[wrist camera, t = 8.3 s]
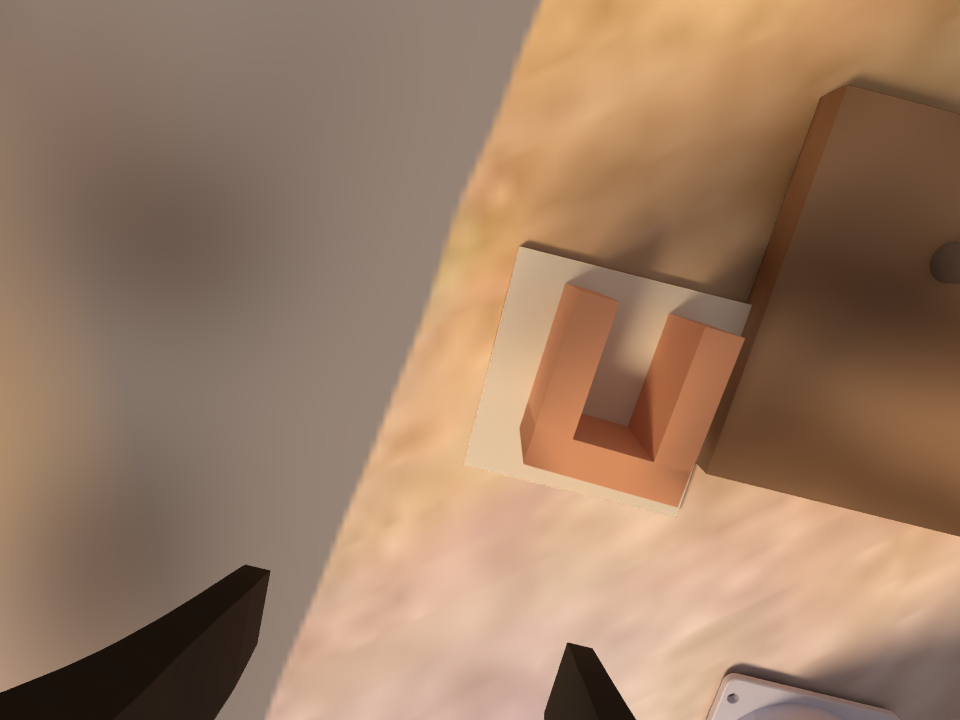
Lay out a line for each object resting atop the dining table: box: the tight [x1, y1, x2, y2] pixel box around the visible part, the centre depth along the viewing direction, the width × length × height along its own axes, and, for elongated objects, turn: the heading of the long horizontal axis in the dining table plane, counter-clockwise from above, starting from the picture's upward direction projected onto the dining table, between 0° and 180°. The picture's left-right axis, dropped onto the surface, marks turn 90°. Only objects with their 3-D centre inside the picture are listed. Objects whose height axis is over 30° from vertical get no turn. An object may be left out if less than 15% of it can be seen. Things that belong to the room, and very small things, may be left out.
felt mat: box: [463, 246, 752, 517], centre depth 21 cm, size 9×9×1 cm
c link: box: [519, 283, 745, 508], centre depth 19 cm, size 6×5×4 cm
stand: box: [696, 85, 960, 536], centre depth 17 cm, size 14×11×6 cm
